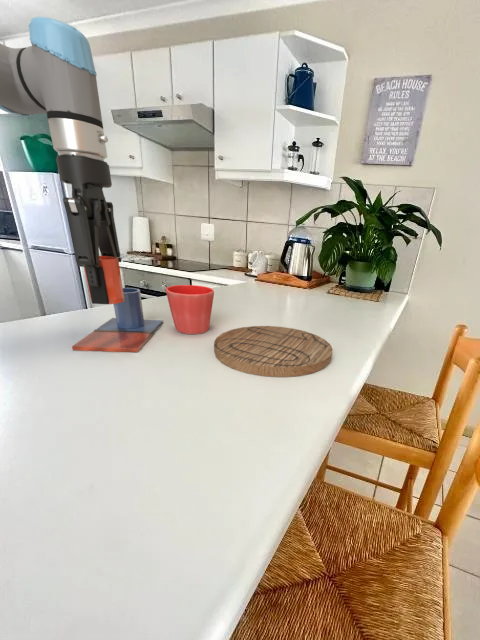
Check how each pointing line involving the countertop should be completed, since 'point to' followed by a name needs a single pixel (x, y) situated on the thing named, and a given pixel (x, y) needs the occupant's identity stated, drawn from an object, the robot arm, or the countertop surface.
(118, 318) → the blue cup
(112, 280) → the red cup
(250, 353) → the trivet
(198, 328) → the flower pot
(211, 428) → the countertop surface
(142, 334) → the board
